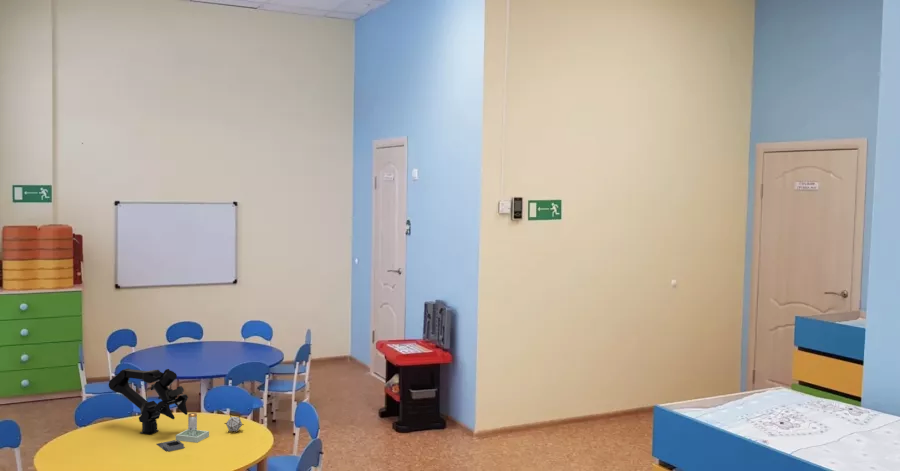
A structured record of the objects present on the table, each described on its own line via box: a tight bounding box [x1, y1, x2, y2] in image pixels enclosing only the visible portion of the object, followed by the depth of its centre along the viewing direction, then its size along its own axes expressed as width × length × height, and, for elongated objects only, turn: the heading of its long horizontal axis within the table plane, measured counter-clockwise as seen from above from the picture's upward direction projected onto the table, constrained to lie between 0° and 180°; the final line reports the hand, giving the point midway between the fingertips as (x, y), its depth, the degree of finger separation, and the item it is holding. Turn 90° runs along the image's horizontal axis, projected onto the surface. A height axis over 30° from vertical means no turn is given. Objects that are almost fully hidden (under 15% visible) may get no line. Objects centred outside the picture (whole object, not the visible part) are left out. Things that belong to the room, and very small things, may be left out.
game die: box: [224, 415, 245, 433], centre depth 387 cm, size 9×8×10 cm
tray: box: [175, 428, 210, 443], centre depth 373 cm, size 12×10×4 cm
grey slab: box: [155, 439, 186, 452], centre depth 362 cm, size 15×9×3 cm, turn 40°
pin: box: [187, 412, 198, 437], centre depth 373 cm, size 4×4×12 cm
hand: (180, 416), depth 376 cm, fingers open, 9 cm apart
